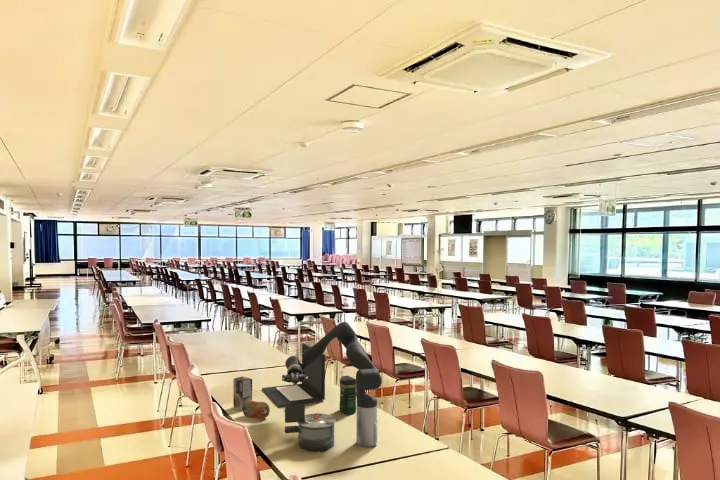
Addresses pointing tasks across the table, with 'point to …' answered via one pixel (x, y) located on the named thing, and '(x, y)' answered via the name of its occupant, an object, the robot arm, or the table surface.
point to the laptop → (301, 386)
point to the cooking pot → (313, 437)
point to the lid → (307, 417)
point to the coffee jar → (347, 394)
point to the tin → (256, 409)
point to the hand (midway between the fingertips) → (295, 382)
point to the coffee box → (241, 391)
